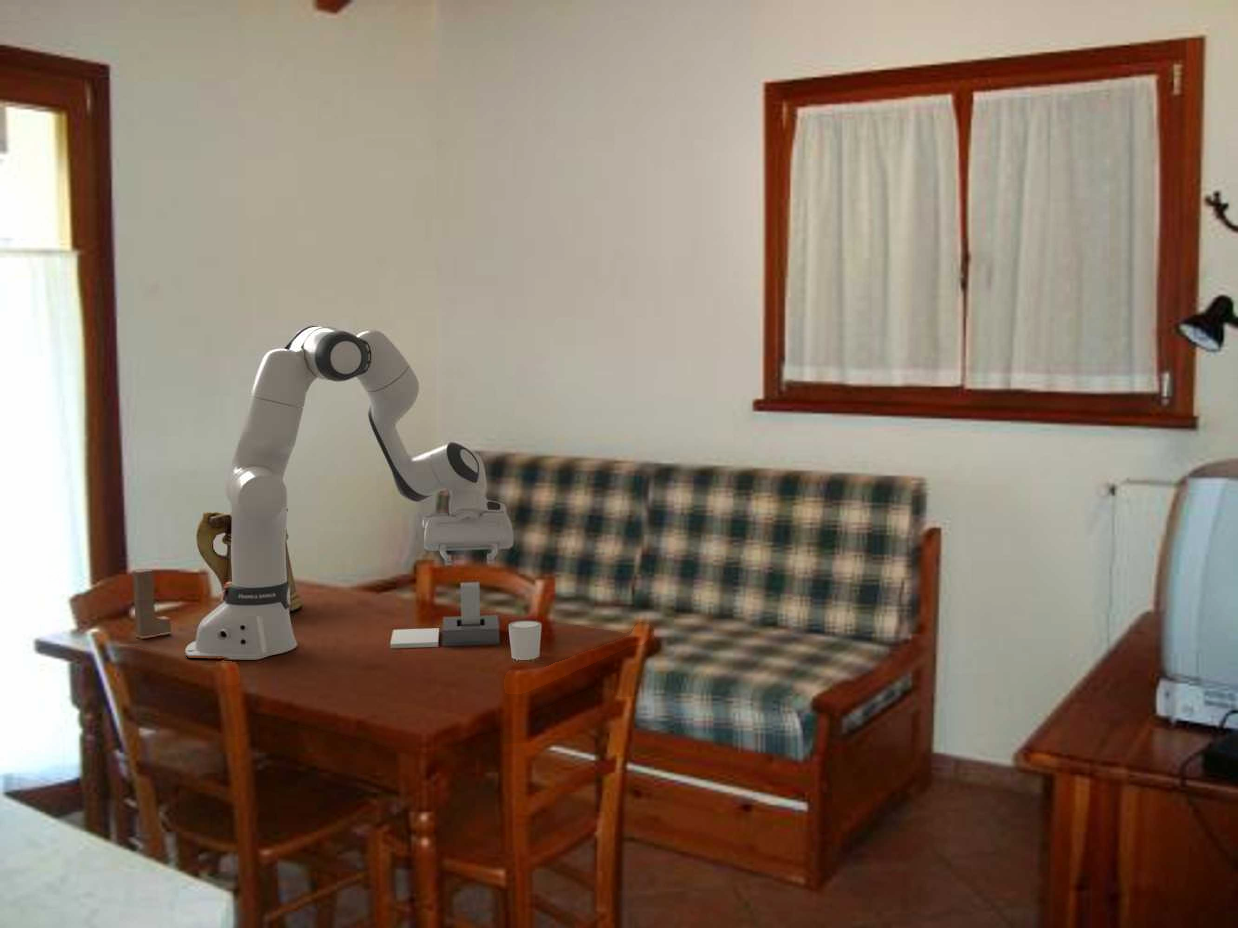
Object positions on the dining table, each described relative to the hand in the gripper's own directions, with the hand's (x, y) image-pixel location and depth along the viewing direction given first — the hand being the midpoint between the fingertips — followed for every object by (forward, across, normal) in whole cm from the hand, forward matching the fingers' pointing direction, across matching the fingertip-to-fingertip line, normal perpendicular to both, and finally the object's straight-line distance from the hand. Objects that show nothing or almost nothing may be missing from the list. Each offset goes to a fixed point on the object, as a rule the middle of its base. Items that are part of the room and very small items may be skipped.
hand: (469, 563), depth 276 cm
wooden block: (+8, -70, +13) cm, 71 cm away
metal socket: (+17, 0, +4) cm, 18 cm away
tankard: (-6, -52, +27) cm, 59 cm away
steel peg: (+17, 0, +4) cm, 18 cm away
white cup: (+29, +11, -8) cm, 32 cm away
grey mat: (+17, -12, +4) cm, 21 cm away
